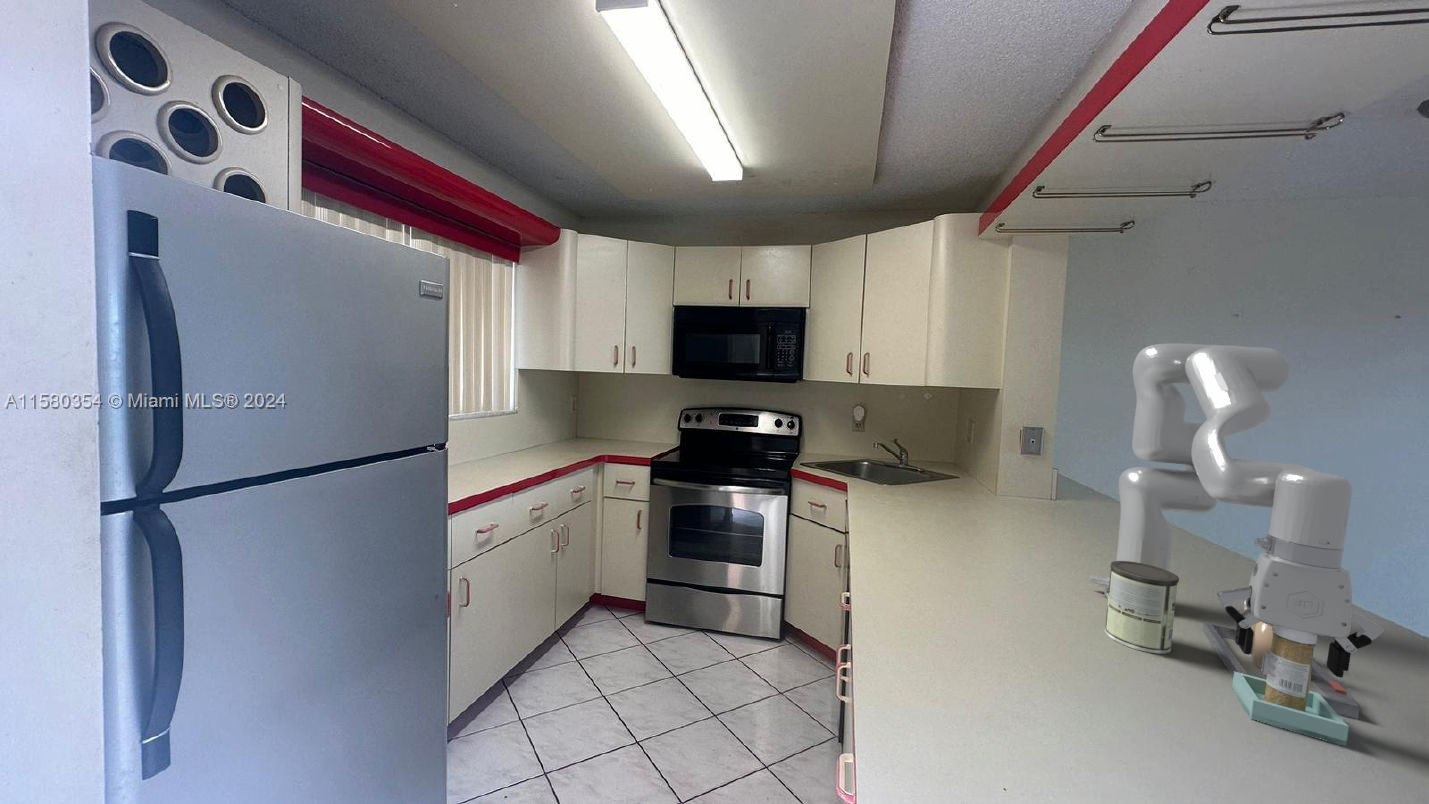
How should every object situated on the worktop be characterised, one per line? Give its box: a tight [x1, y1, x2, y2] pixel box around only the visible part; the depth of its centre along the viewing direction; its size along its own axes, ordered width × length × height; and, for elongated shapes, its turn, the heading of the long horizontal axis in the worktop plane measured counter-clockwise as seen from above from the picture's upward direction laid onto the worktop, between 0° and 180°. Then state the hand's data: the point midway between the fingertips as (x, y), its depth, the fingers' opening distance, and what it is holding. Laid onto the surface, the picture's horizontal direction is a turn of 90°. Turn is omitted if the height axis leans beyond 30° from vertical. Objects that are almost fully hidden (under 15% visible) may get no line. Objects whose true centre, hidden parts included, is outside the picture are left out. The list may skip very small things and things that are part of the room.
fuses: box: [1243, 600, 1273, 669], centre depth 97 cm, size 4×11×9 cm, turn 147°
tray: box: [1231, 671, 1349, 748], centre depth 80 cm, size 10×10×3 cm
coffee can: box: [1104, 560, 1180, 655], centre depth 102 cm, size 10×10×14 cm
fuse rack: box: [1202, 621, 1360, 720], centre depth 94 cm, size 13×24×4 cm, turn 147°
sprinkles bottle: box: [1263, 625, 1318, 712], centre depth 80 cm, size 5×5×13 cm
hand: (1287, 661), depth 80 cm, fingers open, 9 cm apart
